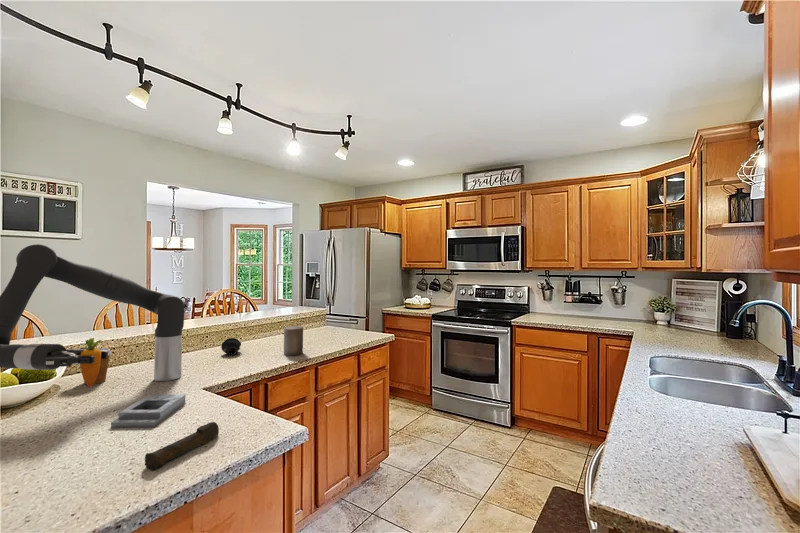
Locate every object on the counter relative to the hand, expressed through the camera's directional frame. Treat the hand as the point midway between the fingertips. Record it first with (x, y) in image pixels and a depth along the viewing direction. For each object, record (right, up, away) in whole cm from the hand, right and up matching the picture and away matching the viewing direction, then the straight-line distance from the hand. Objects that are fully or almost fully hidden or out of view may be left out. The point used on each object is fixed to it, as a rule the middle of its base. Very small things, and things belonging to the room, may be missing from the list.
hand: (100, 357), depth 112 cm
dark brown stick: (+37, -19, -19) cm, 46 cm away
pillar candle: (+35, -18, +80) cm, 90 cm away
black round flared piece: (+4, -17, +80) cm, 82 cm away
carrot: (-3, -9, 0) cm, 10 cm away
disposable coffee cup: (-26, -17, +29) cm, 42 cm away
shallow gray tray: (+15, -18, +1) cm, 23 cm away
